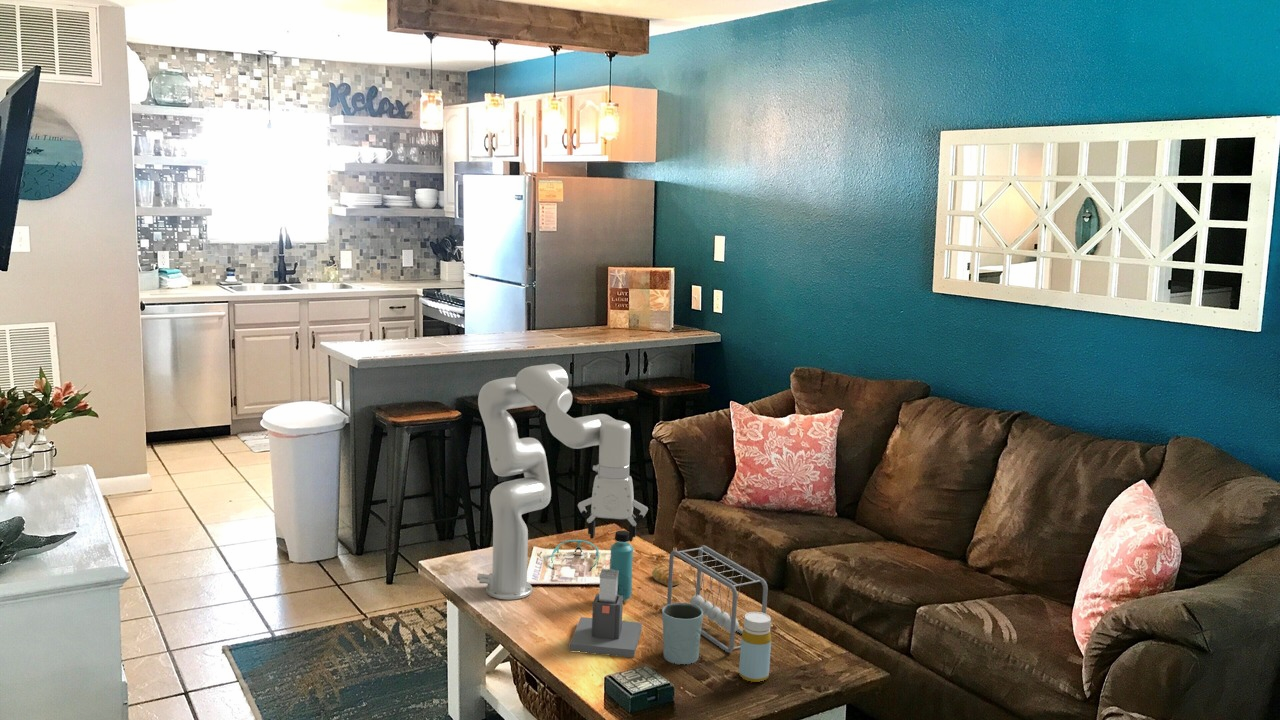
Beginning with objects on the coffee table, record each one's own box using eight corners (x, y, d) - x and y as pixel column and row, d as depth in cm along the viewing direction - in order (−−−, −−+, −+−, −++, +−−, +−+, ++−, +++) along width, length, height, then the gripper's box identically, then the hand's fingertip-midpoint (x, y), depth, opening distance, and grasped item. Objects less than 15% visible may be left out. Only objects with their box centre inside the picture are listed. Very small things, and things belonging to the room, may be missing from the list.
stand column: (597, 632, 262) (599, 575, 259) (599, 624, 266) (602, 568, 263) (614, 633, 262) (616, 576, 259) (616, 626, 266) (618, 570, 263)
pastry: (686, 585, 303) (686, 572, 302) (667, 589, 299) (667, 576, 299) (668, 574, 311) (668, 561, 310) (648, 578, 307) (649, 565, 306)
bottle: (736, 669, 252) (740, 610, 249) (765, 669, 252) (769, 611, 250) (741, 683, 245) (745, 623, 242) (771, 683, 246) (775, 623, 243)
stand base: (569, 651, 257) (570, 609, 255) (580, 624, 273) (581, 584, 271) (634, 657, 256) (636, 615, 254) (641, 629, 271) (643, 589, 269)
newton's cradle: (665, 610, 284) (669, 548, 281) (697, 604, 290) (701, 542, 287) (730, 656, 259) (735, 588, 256) (764, 648, 264) (769, 581, 261)
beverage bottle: (632, 597, 292) (635, 528, 288) (630, 607, 285) (633, 536, 282) (609, 595, 292) (612, 526, 289) (606, 605, 286) (609, 534, 282)
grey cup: (687, 670, 251) (690, 622, 249) (651, 658, 256) (654, 611, 254) (708, 654, 259) (710, 608, 257) (672, 643, 264) (675, 598, 262)
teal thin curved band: (601, 556, 323) (601, 541, 321) (594, 579, 308) (595, 563, 307) (556, 552, 324) (556, 537, 323) (547, 575, 310) (547, 559, 308)
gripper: (576, 473, 254) (574, 540, 257) (647, 477, 252) (644, 546, 255) (581, 465, 261) (579, 531, 264) (650, 469, 259) (648, 536, 262)
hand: (611, 538), depth 259 cm, fingers open, 9 cm apart
